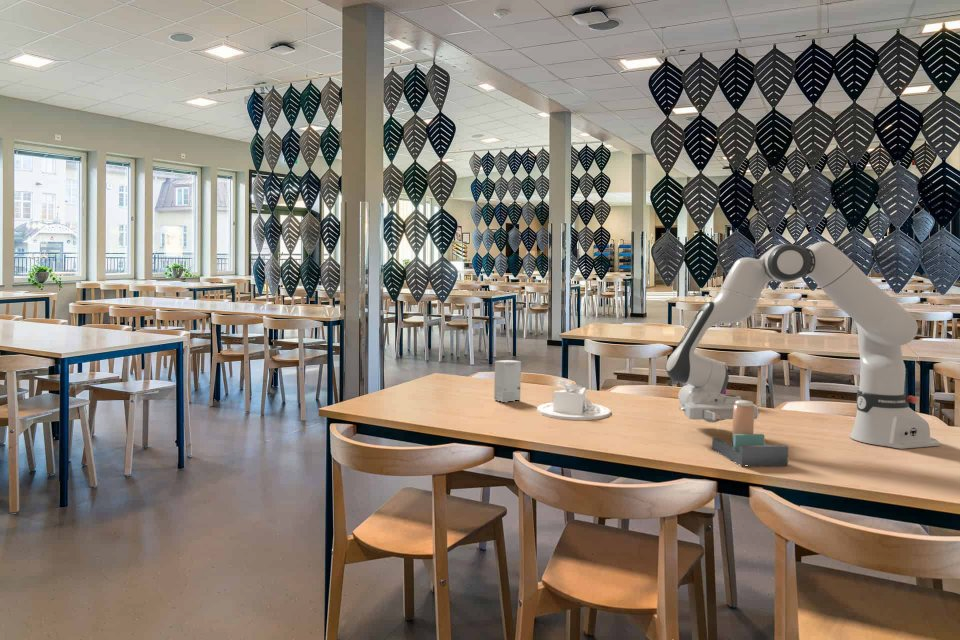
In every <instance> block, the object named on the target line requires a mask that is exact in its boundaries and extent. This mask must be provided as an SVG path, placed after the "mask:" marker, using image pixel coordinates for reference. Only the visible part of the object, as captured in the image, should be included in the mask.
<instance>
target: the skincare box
mask: <svg viewBox="0 0 960 640" xmlns="http://www.w3.org/2000/svg"><path fill="white" fill-rule="evenodd" d="M521 373H522V361H521V360H515V359H513V360H512V359H509V360H507V359H506V360H503V359H501V360H494V387H493V388H494V390H493V391H494V393H493V394H494V395H493V396H494V397H493V400H494V399H495V400H494V401H496V400H498V401H497V402H499V401H501V402H500V403H502V402H505V403H509V402H508V401H513V402H516V401H515V400H520V401H521V384H522V383H521V381H522V379H521V378H522V374H521Z"/></svg>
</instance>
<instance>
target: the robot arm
mask: <svg viewBox="0 0 960 640" xmlns="http://www.w3.org/2000/svg"><path fill="white" fill-rule="evenodd" d="M805 276H806V277H808V278H810V279H811V280H813V281H814V282H815V284H816V285H817V286H818V287H819V288H820V289H821V291H822V292H824V293H825V294H826V296H827V297H828V298H829V299H830V300H831V301H832V302H833V303H834V304H835V305H836V306H837V307H838V308H839V309H840V310H842V311H843V312H844V313H845V314H846V315H848V316H849V317H850V318H851V319H852V320H853V321H855V327H856V331H857V344H858V351H859V361H860V366H859V367H860V368H859V369H860V370H859V388H858V389H857V390H856V391H857V393H856V416H855V420H854V423H853V427H852V430H851V433H850V435H849V436H850V439H852V440H855V441H857V442H860V443H865V444H870V445H876V446H882V447H889V448H895V449H898V450H899V449H903V450H905V449H913V448H925V447H927V448H928V447H935V446H936V447H937V446H940V445H941V443H940V441H939V440H938V439H936V438H933V437H931V430H930V429H931V428H930V424H929V422H928V421H927V420H925V418H923V417H922V416H920V414H919V413H917V412H916V411H914V410H913V409H912V408H911V407H910V404H909V403H911V404H917V403H918V397H917V396H916V395H915V396H914V395H907V394H905V380H906V379H905V378H906V377H905V376H906V364H905V362H904V359H903V354H902V353H903V352H902V346H904V345H907V344H909V343H911V342H912V341H913V340H914V339H915V338H916V336H917V334H918V330H919V328H918V323H917V320H916V318H915V317H914V316H913V315H912V314H911V313H910V312H909V311H907V310H906V309H905V308H904V307H903V306H901V305H900V304H899V303H898V301H896V300H895V299H894V298H892V297H891V296H890V295H889V294H888V293H886V292H885V291H884V290H882V288H880V287H879V286H878V285H876V284H875V283H874V282H873V281H872V280H871V279H870V278H869V277H868V276H867V275H866V273H864V271H862V270H861V268H859V267H858V265H856V263H855V262H853V261H852V259H850V257H849V256H848V255H846V254H845V253H844V252H842V251H841V250H840V249H839V248H838V247H836V246H835V245H833V244H831V243H830V242H828V241H819V242H818V241H817V242H815V243H812V245H810V246H808V247H804V246H801V245H797V244H794V243H782V244H776V245H774V246H773V247H771V248H769V249H767V250H766V251H765V252H763V253H762V254H761V255H760V256H759V257H758V258H754V257H749V256H747V257H741V258H737V260H736V261H734V263H733V265H732V266H731V268H730V269H729V271H728V273H727V275H726V277H725V279H724V280H723V283H722V286H721V288H720V290H719V292H718V294H717V295H716V296H715V297H714V298H713V299H712V300H711V301H708V302H705V303H703V305H702V306H701V307H700V308H699V310H698V311H697V313H696V314H695V316H694V318H693V320H692V321H691V322H690V324H689V326H688V328H687V329H686V331H685V333H684V334H683V336H682V338H681V339H680V341H679V343H678V344H677V346H676V347H675V348H674V350H673V351H672V352H671V354H670V355H669V356H668V359H667V361H666V363H665V371H666V373H667V375H668V377H669V379H670V380H671V381H673V382H675V383H680V384H686V385H684V386H681V388H680V389H679V391H678V396H677V397H678V398H677V399H678V401H679V404H680V406H679V407H678V409H679V410H680V411H683V412H684V416H685V417H687V418H688V419H689V420H696V421H697V420H704V421H705V422H707V423H718V422H720V421H725V420H733V405H734V404H735V401H736V400H742V397H741V396H739V395H734V394H726V395H725V394H723V392H724V391H725V389H726V390H727V386H728V384H729V379H730V376H729V372H728V367H727V368H726V366H727V365H726V366H725V364H726V363H725V362H724V361H720V360H717V359H713V358H711V357H706V356H704V355H701V354H698V353H695V350H697V347H698V346H699V344H700V342H701V340H702V339H703V337H704V335H705V334H706V332H707V331H708V329H710V328H711V327H713V326H716V325H722V324H735V323H740V322H742V321H745V320H747V319H749V318H750V316H752V315H753V313H754V312H755V309H756V307H757V305H758V303H759V299H760V297H761V293H762V291H763V290H764V289H765V287H766V285H767V284H768V283H770V282H778V283H786V282H787V283H788V282H791V281H795V280H799V279H800V278H803V277H805ZM723 362H724V363H725V364H724V363H723ZM753 406H755V409H754V420H757V419H758V417H759V407H758V405H756V404H754V403H753Z"/></svg>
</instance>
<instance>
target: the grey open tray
mask: <svg viewBox="0 0 960 640" xmlns="http://www.w3.org/2000/svg"><path fill="white" fill-rule="evenodd" d="M711 441H712V442H711V450H713V451H715V452H716V451H717V452H716V453H718V452H719V453H718V454H720V453H721V454H722V455H721V454H720V455H721V456H723V455H724V456H726V457H728V458H729V459H731V460H733V461H734V462H736V463H738V464H740V465H741V466H745V465H748V466H768V467H788V464H789V462H788V461H789V446H788V445H786V444H768V443H767V442H764V445H747V446H740V447H739V450H738V449H736V448H735V447H733V446H732V444H729V443H727V442H726V441H724V440H722V439H720V438H718V437H712V440H711ZM724 456H723V457H724ZM726 457H725V458H726ZM728 458H727V459H728ZM729 459H728V460H729ZM731 460H730V461H731ZM733 461H732V462H733ZM734 462H733V463H734ZM736 463H735V464H736ZM738 464H737V465H738ZM741 466H740V467H741Z"/></svg>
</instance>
